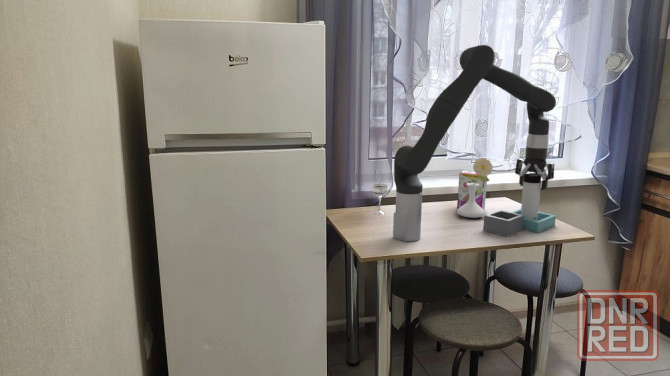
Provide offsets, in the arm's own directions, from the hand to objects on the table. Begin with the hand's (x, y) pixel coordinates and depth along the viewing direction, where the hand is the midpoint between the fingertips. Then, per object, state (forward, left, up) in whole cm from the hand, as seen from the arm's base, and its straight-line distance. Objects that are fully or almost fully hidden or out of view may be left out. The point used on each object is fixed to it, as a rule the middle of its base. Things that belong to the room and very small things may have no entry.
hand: (532, 187), depth 181 cm
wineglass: (-33, +50, -15) cm, 62 cm away
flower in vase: (-7, +21, -15) cm, 27 cm away
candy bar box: (+2, +28, -15) cm, 32 cm away
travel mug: (0, 0, -14) cm, 14 cm away
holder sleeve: (-14, +3, -15) cm, 21 cm away
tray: (0, 0, -15) cm, 15 cm away
